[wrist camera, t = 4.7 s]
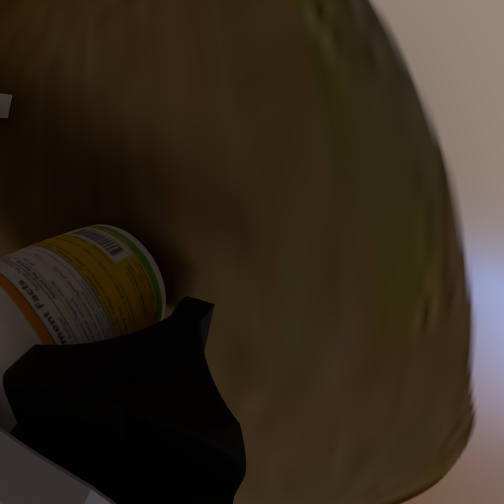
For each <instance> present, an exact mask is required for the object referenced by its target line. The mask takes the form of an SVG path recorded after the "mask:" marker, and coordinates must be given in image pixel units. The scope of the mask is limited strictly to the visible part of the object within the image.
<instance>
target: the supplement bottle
mask: <svg viewBox="0 0 504 504" xmlns="http://www.w3.org/2000/svg"><path fill="white" fill-rule="evenodd" d="M165 308H166V294H165V287H164V283H163V279H162V276H161V273H160V271H159V269H158V266H157V264H156V263H155V261H154V259H153V257H152V256H151V254H150V253H149V252H148V250H147V249H146V248H145V247H144V246H143V245H142V244H141V243H140V242H139V241H138V240H137V239H136V238H134V237H133V236H132V235H131V234H129V233H128V232H126V231H124V230H122V229H120V228H117V227H114V226H111V225H102V224H99V225H91V226H87V227H83V228H80V229H76V230H73V231H70V232H67V233H64V234H61V235H58V236H55V237H52V238H50V239H47V240H44V241H41V242H38V243H35V244H33V245H30V246H27V247H24V248H22V249H19V250H16V251H14V252H11V253H8V254H6V255H3V256H0V427H1V428H3V429H4V430H5V431H7V432H8V433H10V432H11V430H12V429H13V428H14V427H15V426H16V424H17V421H16V419H15V417H14V414H13V412H12V409H11V407H10V405H9V402H8V399H7V397H6V394H5V391H4V387H3V374H4V373H5V371H6V370H7V369H8V368H9V367H10V366H11V365H12V364H13V363H15V362H16V361H17V360H18V359H19V358H20V357H21V356H22V355H23V354H24V353H25V352H27V351H28V350H29V349H30V348H31V347H32V346H34V345H35V344H42V345H69V344H82V343H90V342H97V341H103V340H107V339H112V338H116V337H120V336H124V335H128V334H131V333H134V332H137V331H139V330H142V329H145V328H147V327H149V326H152V325H154V324H156V323H158V322H160V321H162V320H163V317H164V314H165Z"/></svg>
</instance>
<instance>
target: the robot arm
mask: <svg viewBox="0 0 504 504" xmlns="http://www.w3.org/2000/svg"><path fill="white" fill-rule="evenodd" d="M213 309H214V304H213V303H209V302H206V301H202V300H199V299H195V298H192V297H188V296H186V297H184V298H183V299H182V300H181V301H180V302H179V303H178V304H177V306H176V308H175V309H174V311H173V313H172V315H171V316H169V317H168V318H166V319H164V320H162V321H160V322H158V323H156V324H154V325H152V326H149V327H147V328H145V329H142V330H139V331H137V332H134V333H131V334H128V335H124V336H120V337H116V338H112V339H107V340H103V341H97V342H90V343H82V344H69V345H42V344H35V345H34V346H32V347H31V348H30V349H29V350H28V351H27V352H25V353H24V354H23V355H22V356H21V357H20V358H19V359H18V360H17V361H16V362H15V363H13V364H12V365H11V366H10V367H9V368H8V369H7V370H6V371H5V373H4V374H3V387H4V391H5V394H6V397H7V399H8V402H9V405H10V407H11V409H12V412H13V414H14V417H15V419H16V421H17V424H16V426H15V427H14V428H13V429H12V430H11V432H10V433H8V432H7V431H5V430H4V429H3V428H1V427H0V504H233V499H234V495H235V493H236V492H237V490H238V488H239V486H240V485H241V483H242V481H243V479H244V476H245V472H246V455H245V447H244V441H243V436H242V431H241V426H240V424H239V422H238V421H237V420H236V418H235V417H234V416H233V414H232V413H231V411H230V410H229V408H228V407H227V405H226V404H225V402H224V400H223V399H222V397H221V395H220V393H219V391H218V389H217V387H216V385H215V383H214V380H213V378H212V376H211V373H210V371H209V368H208V365H207V361H206V358H205V354H204V350H205V346H206V341H207V336H208V332H209V327H210V323H211V318H212V313H213Z"/></svg>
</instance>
